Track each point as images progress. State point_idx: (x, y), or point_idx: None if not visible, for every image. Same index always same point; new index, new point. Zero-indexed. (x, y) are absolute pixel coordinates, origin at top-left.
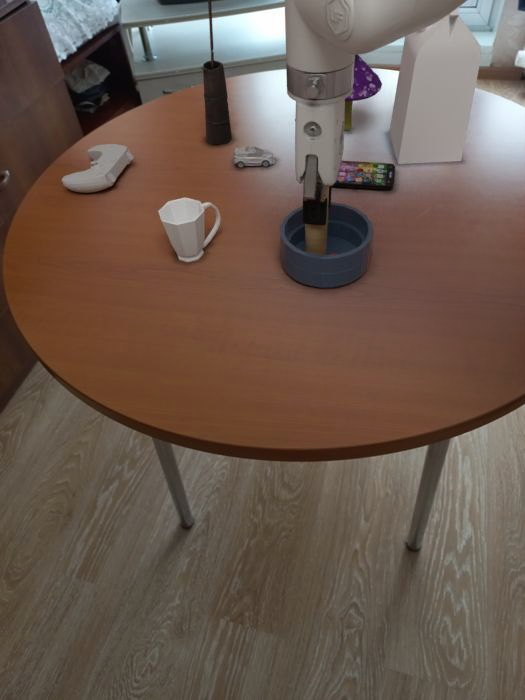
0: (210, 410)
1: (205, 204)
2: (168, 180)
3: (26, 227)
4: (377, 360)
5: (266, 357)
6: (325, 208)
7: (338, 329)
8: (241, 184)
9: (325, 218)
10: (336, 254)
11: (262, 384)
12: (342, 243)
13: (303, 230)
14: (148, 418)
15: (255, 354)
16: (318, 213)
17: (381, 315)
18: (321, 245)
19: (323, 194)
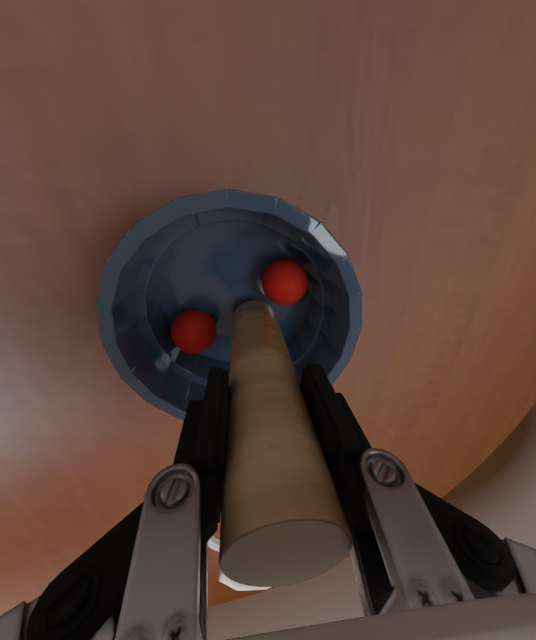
0: (523, 380)
1: (218, 547)
2: (89, 546)
3: (237, 594)
4: (513, 160)
5: (461, 342)
6: (342, 411)
7: (425, 245)
8: (44, 474)
9: (326, 379)
10: (280, 285)
11: (505, 337)
12: (179, 269)
13: (187, 362)
14: (513, 426)
15: (452, 356)
16: (353, 419)
17: (399, 155)
18: (278, 328)
19: (425, 505)
